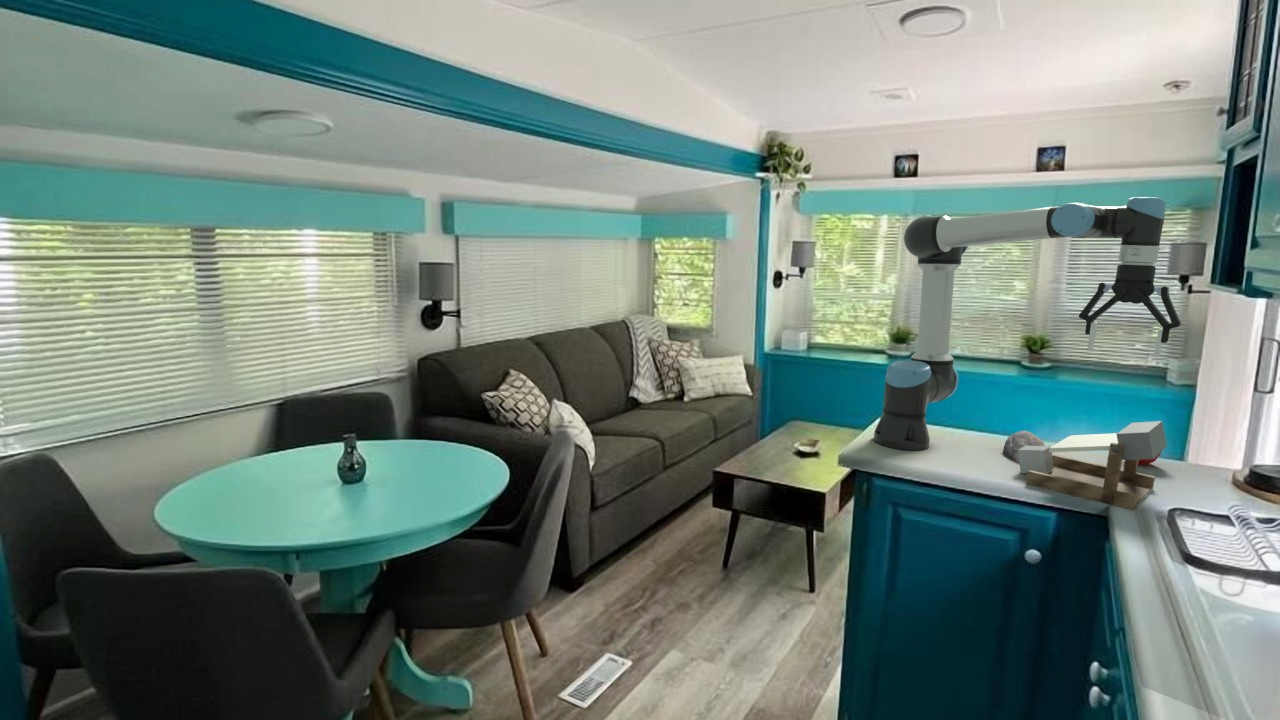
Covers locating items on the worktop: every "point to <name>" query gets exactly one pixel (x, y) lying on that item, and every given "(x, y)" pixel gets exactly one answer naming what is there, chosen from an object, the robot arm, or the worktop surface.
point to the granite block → (1035, 459)
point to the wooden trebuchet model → (1097, 479)
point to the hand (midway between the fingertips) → (1122, 352)
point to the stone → (1020, 443)
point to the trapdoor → (1121, 441)
